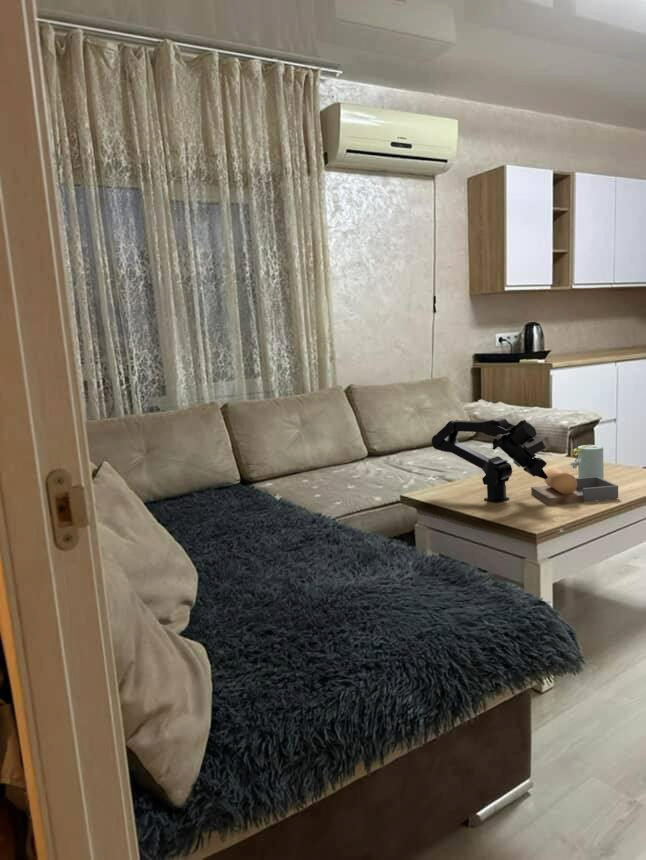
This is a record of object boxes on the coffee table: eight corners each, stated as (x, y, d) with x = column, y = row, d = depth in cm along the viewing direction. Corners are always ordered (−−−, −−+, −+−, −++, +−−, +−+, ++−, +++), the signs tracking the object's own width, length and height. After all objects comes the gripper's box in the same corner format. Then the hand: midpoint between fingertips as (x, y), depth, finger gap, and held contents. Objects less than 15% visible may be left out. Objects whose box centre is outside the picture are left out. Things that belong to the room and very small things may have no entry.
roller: (576, 494, 208) (578, 474, 207) (556, 494, 208) (558, 474, 207) (562, 487, 219) (564, 468, 218) (543, 486, 219) (545, 467, 218)
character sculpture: (582, 473, 245) (581, 440, 243) (612, 476, 237) (611, 442, 235) (561, 484, 231) (561, 449, 229) (593, 488, 223) (592, 452, 221)
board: (548, 505, 206) (548, 498, 205) (531, 493, 222) (531, 487, 221) (584, 502, 206) (584, 495, 206) (564, 491, 222) (563, 484, 221)
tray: (584, 501, 207) (583, 488, 206) (565, 491, 221) (565, 479, 220) (618, 498, 207) (618, 485, 206) (597, 488, 221) (597, 476, 221)
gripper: (539, 436, 201) (573, 466, 202) (521, 427, 219) (552, 455, 221) (516, 461, 202) (550, 491, 203) (500, 451, 220) (531, 478, 222)
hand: (546, 478), depth 212 cm, fingers closed
